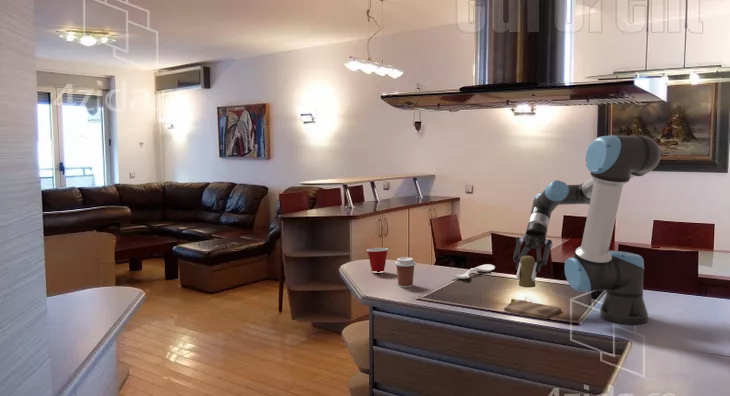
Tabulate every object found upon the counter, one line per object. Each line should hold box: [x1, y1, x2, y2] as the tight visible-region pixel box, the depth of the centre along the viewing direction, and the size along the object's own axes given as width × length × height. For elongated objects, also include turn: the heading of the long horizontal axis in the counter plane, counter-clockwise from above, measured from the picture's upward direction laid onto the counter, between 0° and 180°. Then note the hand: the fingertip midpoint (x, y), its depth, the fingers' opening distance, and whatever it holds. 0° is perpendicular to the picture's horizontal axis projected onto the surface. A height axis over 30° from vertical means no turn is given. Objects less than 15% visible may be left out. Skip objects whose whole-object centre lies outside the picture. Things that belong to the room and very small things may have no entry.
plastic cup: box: [366, 247, 389, 272], centre depth 265 cm, size 11×11×12 cm
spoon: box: [448, 263, 496, 280], centre depth 259 cm, size 9×32×4 cm, turn 139°
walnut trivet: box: [503, 299, 562, 320], centre depth 200 cm, size 16×13×1 cm
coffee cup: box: [394, 256, 417, 288], centre depth 239 cm, size 9×9×12 cm
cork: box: [518, 255, 537, 289], centre depth 201 cm, size 6×6×11 cm
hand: (525, 278), depth 199 cm, fingers closed on cork, 5 cm apart
